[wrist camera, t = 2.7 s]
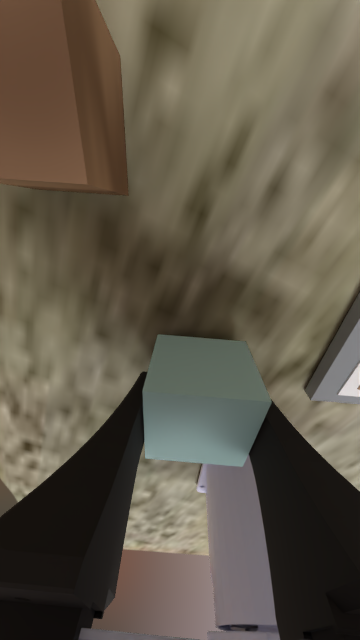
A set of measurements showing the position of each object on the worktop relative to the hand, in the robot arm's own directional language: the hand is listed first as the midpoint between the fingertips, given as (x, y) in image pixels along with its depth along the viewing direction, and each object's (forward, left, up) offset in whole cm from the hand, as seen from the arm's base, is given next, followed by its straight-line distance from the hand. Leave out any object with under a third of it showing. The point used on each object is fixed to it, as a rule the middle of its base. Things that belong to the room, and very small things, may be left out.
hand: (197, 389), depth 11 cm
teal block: (0, 0, -2) cm, 2 cm away
